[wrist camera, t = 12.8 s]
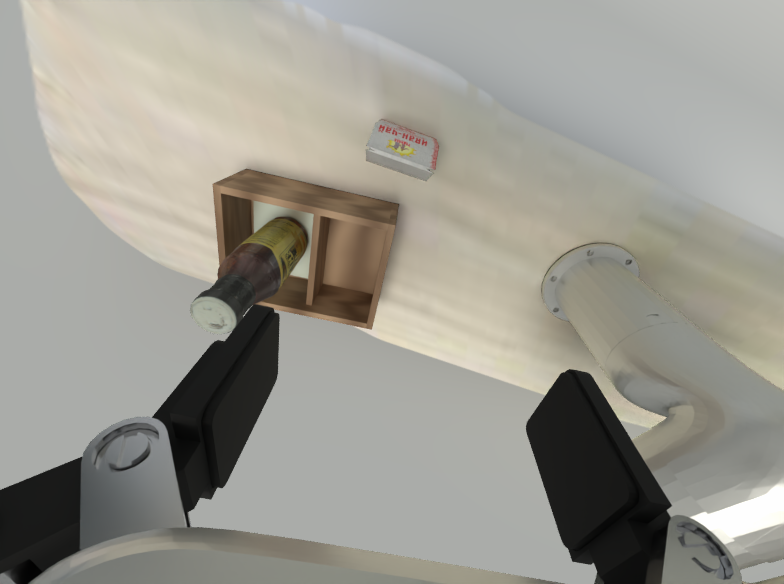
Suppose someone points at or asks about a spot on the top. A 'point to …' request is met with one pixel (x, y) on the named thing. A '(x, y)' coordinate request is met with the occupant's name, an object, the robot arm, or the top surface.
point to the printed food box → (402, 150)
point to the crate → (313, 242)
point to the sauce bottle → (250, 275)
